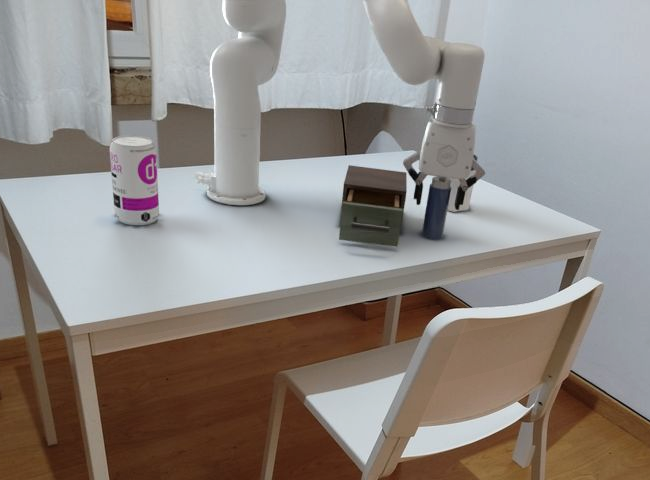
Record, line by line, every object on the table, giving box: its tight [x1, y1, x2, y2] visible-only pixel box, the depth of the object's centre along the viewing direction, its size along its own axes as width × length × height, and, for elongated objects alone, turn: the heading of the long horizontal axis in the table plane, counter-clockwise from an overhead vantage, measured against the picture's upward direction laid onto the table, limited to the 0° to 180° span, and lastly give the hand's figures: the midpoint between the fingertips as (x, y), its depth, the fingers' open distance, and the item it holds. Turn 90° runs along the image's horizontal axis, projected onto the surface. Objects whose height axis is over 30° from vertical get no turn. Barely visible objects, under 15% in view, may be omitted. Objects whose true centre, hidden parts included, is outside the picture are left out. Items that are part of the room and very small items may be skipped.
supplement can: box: [108, 135, 160, 226], centre depth 126 cm, size 8×8×15 cm
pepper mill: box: [421, 176, 452, 240], centre depth 136 cm, size 4×4×13 cm
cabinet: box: [338, 164, 408, 235], centre depth 141 cm, size 14×13×9 cm
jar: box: [447, 153, 478, 213], centre depth 154 cm, size 9×8×12 cm
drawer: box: [338, 188, 404, 248], centre depth 131 cm, size 17×11×7 cm
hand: (437, 204), depth 136 cm, fingers open, 7 cm apart
